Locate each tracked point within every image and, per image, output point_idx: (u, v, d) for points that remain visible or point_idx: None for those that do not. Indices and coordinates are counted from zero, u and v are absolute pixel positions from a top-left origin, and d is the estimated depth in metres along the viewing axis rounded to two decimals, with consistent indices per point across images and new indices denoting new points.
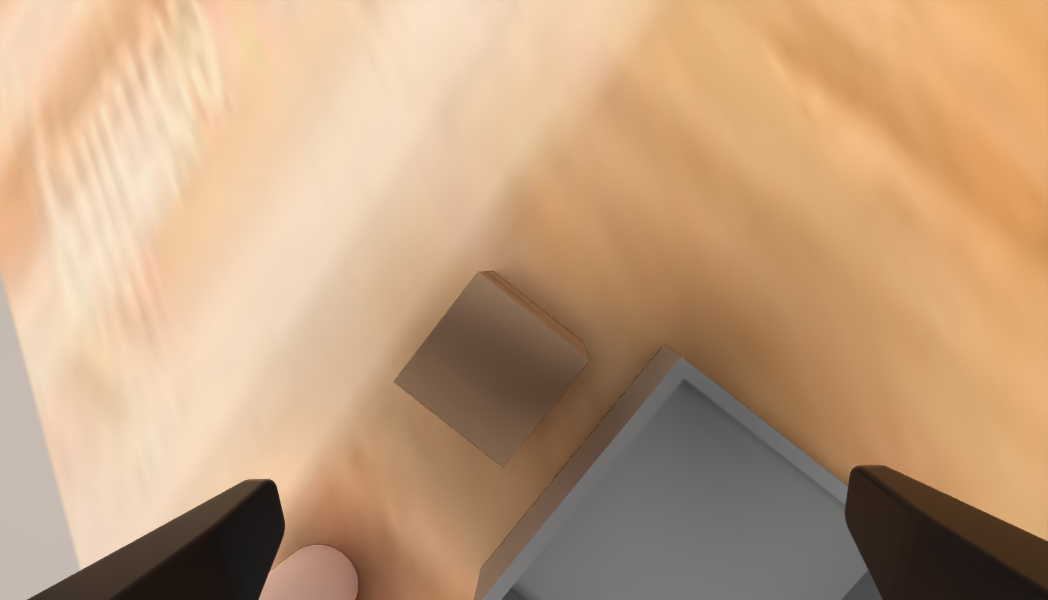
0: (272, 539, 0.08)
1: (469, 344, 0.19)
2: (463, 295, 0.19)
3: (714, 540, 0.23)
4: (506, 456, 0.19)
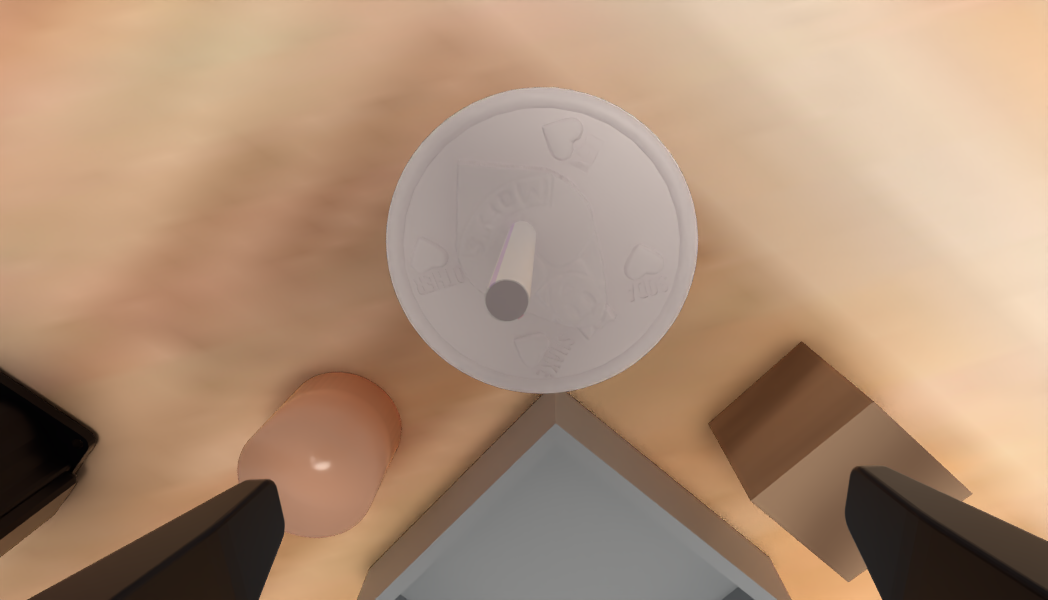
0: (272, 539, 0.08)
1: None
2: (951, 478, 0.17)
3: (583, 595, 0.25)
4: (762, 505, 0.18)
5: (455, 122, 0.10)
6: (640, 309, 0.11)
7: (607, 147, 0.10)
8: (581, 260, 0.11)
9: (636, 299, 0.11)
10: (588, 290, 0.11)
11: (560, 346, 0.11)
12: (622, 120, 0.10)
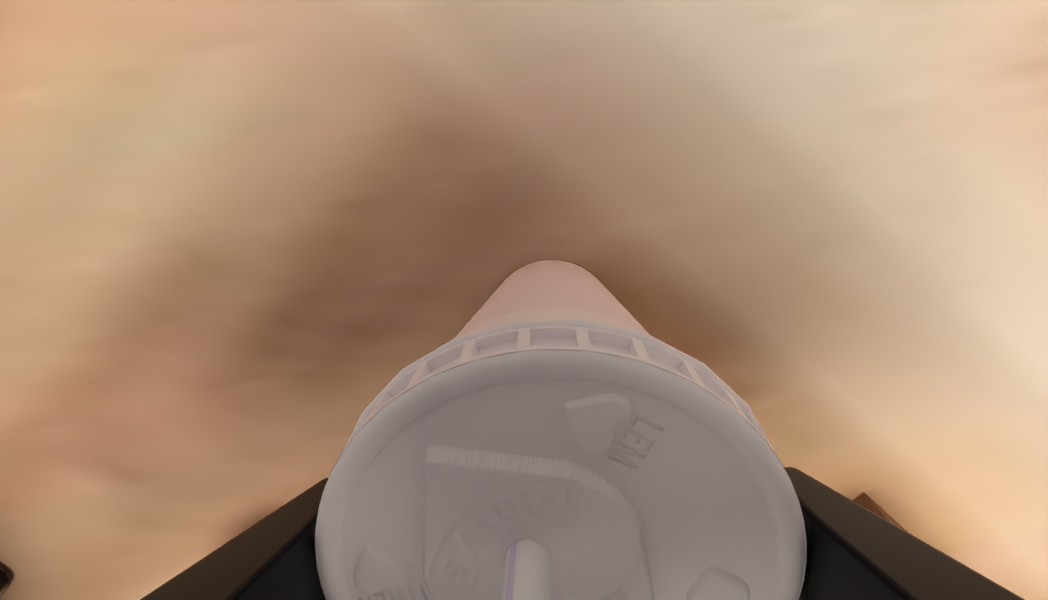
0: None
1: None
2: None
3: None
4: None
5: (422, 395, 0.06)
6: None
7: (669, 435, 0.06)
8: (621, 594, 0.07)
9: None
10: None
11: None
12: (697, 403, 0.06)
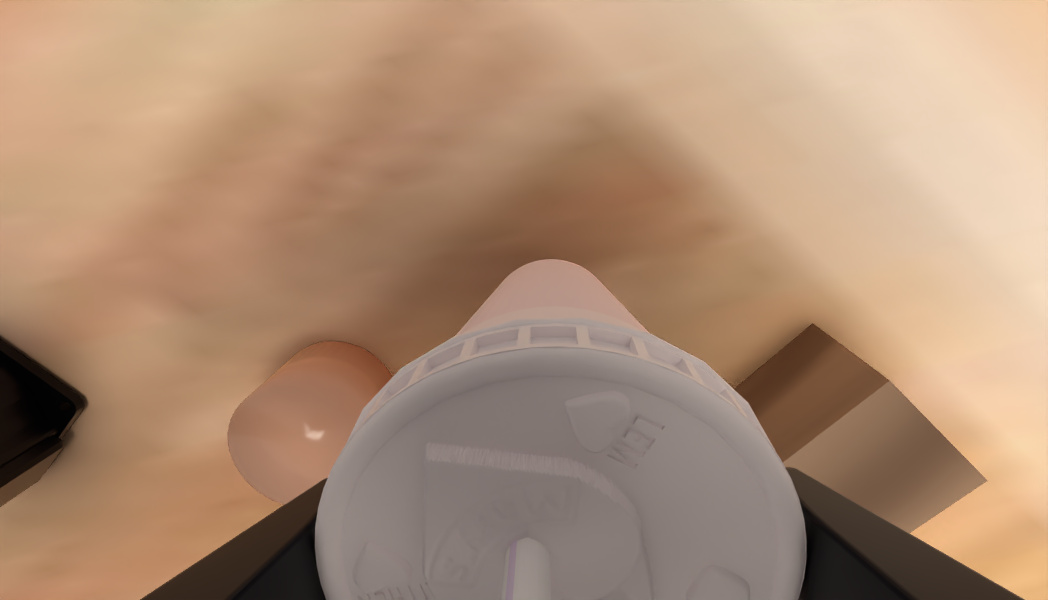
0: None
1: (907, 464, 0.17)
2: (966, 464, 0.17)
3: None
4: None
5: (421, 392, 0.06)
6: None
7: (670, 434, 0.06)
8: (621, 592, 0.07)
9: None
10: None
11: None
12: (697, 401, 0.06)
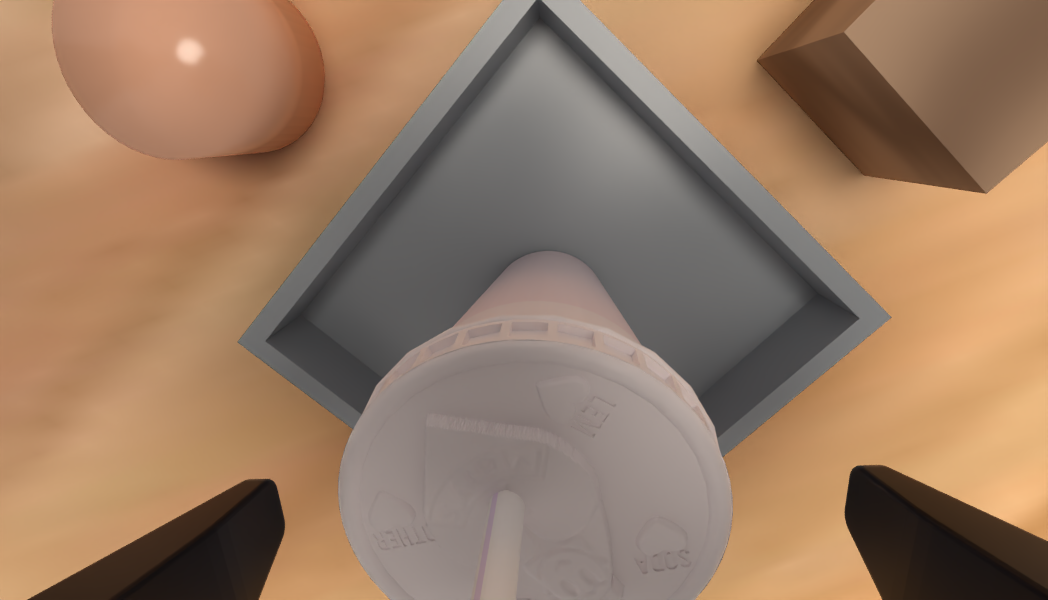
0: (272, 539, 0.08)
1: None
2: None
3: None
4: (863, 40, 0.11)
5: (423, 373, 0.08)
6: (654, 583, 0.09)
7: (620, 410, 0.08)
8: (582, 535, 0.08)
9: (651, 572, 0.09)
10: (589, 567, 0.09)
11: None
12: (641, 385, 0.08)
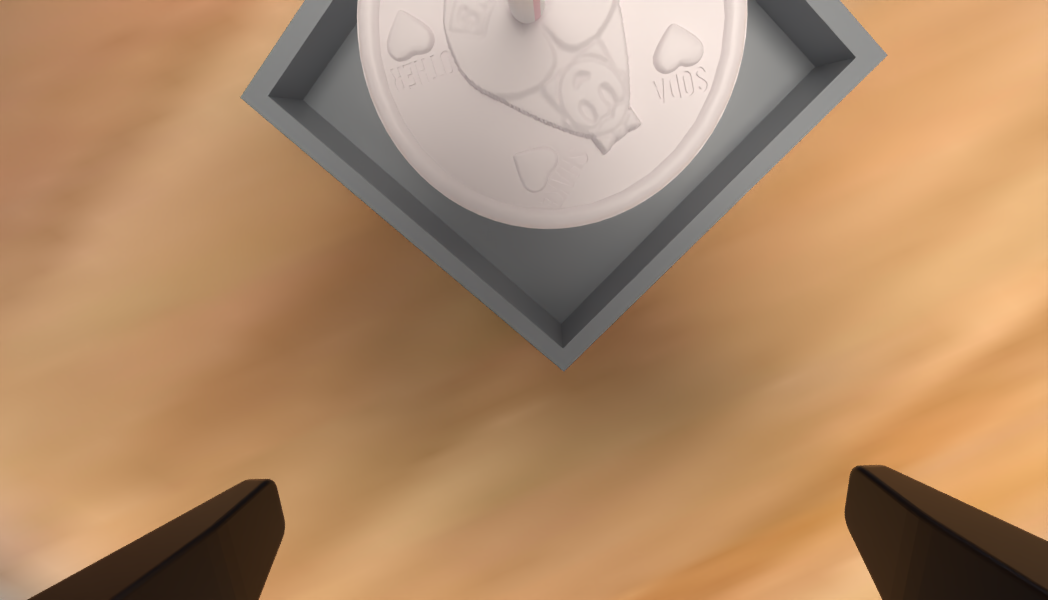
0: (272, 539, 0.08)
1: None
2: None
3: None
4: None
5: None
6: (671, 115, 0.09)
7: None
8: (601, 40, 0.08)
9: (667, 101, 0.09)
10: (608, 82, 0.09)
11: (570, 165, 0.09)
12: None
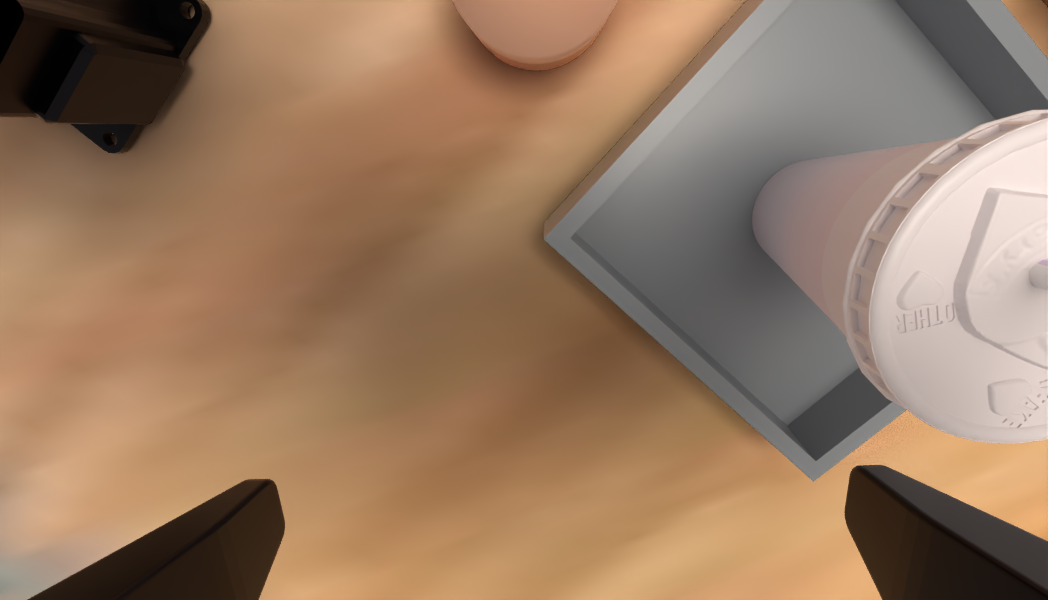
0: (272, 539, 0.08)
1: None
2: None
3: None
4: None
5: (997, 147, 0.09)
6: None
7: None
8: None
9: None
10: None
11: (1038, 393, 0.10)
12: None
